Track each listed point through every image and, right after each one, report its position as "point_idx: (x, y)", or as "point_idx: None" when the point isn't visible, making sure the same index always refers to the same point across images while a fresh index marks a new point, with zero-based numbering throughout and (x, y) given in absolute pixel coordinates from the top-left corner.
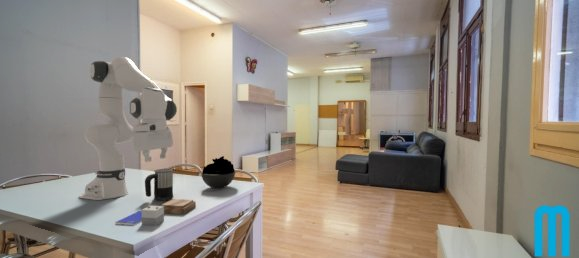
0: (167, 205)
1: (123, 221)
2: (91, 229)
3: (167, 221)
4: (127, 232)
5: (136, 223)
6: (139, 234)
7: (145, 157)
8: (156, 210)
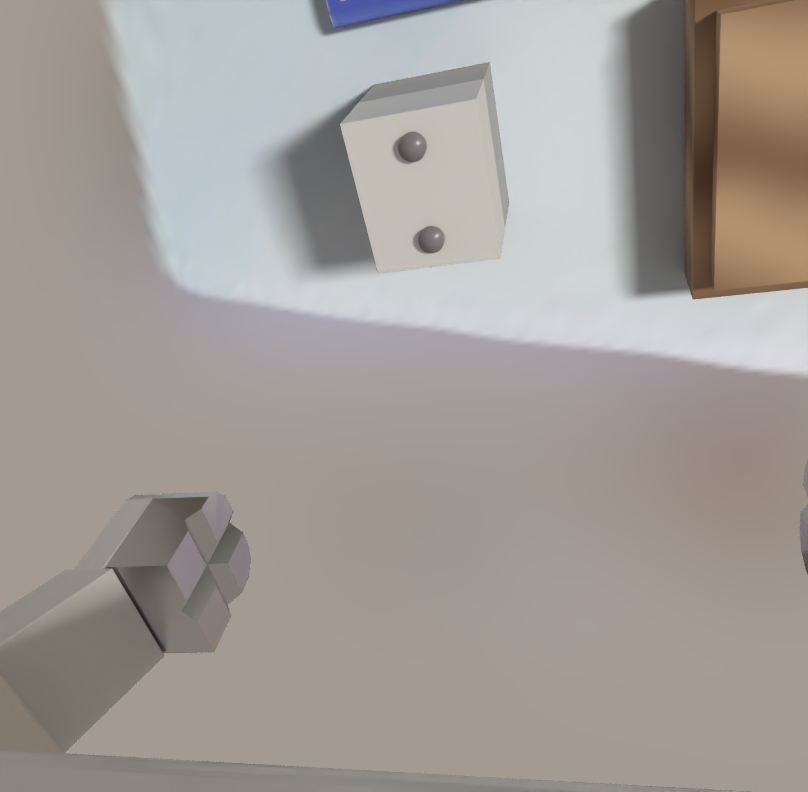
0: (717, 103)
1: None
2: None
3: None
4: (224, 107)
5: (363, 20)
6: (247, 223)
7: (85, 582)
8: (387, 271)
